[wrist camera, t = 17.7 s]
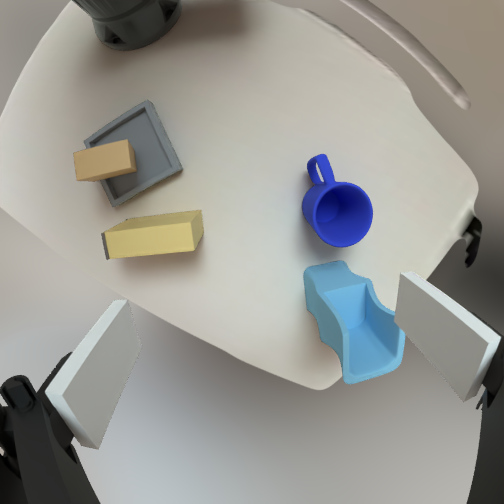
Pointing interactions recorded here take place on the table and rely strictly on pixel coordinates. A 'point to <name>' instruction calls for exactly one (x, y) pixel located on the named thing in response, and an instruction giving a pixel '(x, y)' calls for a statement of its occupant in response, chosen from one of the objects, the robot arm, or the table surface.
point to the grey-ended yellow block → (154, 235)
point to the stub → (105, 161)
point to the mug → (336, 206)
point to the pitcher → (353, 321)
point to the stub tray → (138, 152)
